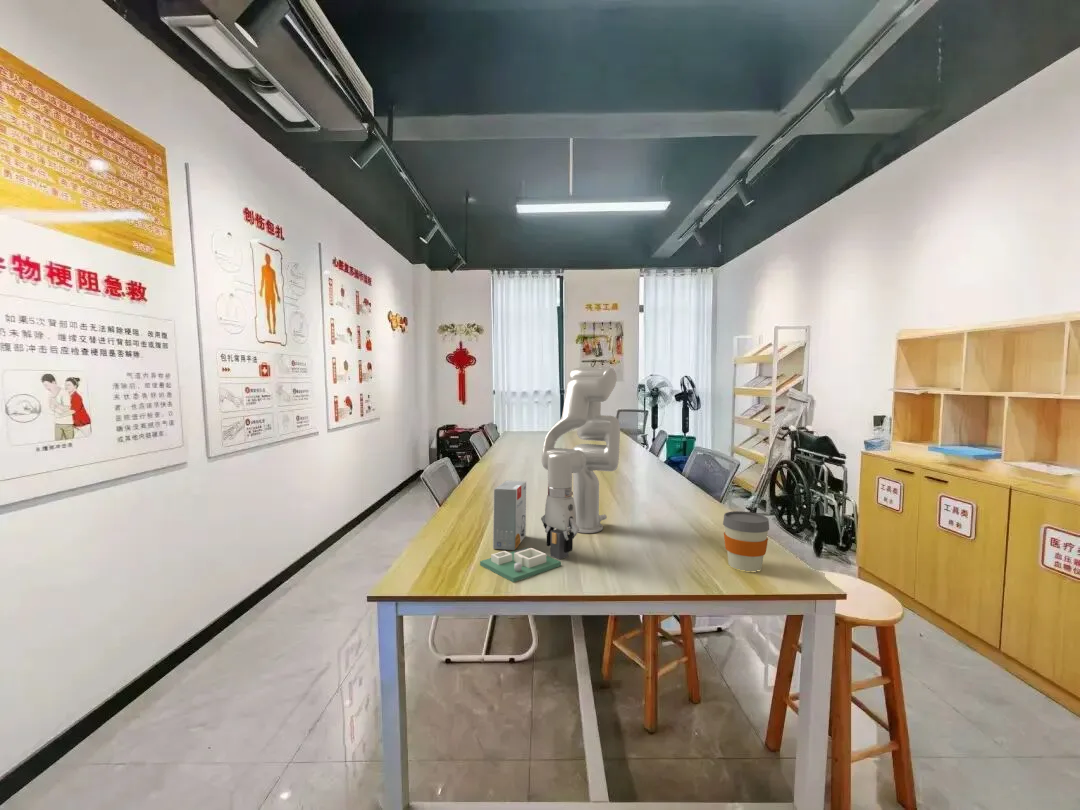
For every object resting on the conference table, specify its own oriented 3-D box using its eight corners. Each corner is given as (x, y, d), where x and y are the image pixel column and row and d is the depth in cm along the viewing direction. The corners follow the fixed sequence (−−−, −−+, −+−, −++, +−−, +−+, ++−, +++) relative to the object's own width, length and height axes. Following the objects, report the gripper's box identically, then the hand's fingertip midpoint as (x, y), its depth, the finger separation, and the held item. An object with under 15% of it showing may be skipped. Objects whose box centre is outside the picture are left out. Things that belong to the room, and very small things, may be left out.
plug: (559, 552, 150) (559, 528, 150) (568, 556, 147) (568, 531, 147) (549, 556, 147) (549, 531, 147) (557, 559, 144) (558, 534, 144)
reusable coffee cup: (724, 572, 135) (725, 521, 135) (720, 556, 147) (721, 509, 147) (772, 577, 132) (773, 524, 131) (763, 561, 144) (765, 512, 143)
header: (531, 555, 144) (531, 547, 144) (546, 562, 139) (546, 553, 139) (512, 561, 140) (512, 553, 139) (527, 568, 134) (527, 560, 134)
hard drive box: (515, 551, 152) (515, 490, 151) (492, 549, 153) (492, 489, 152) (526, 536, 167) (526, 480, 166) (505, 534, 168) (505, 479, 167)
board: (526, 551, 152) (526, 541, 152) (561, 565, 140) (561, 555, 140) (480, 565, 140) (480, 554, 140) (513, 582, 128) (513, 570, 128)
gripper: (588, 495, 143) (588, 553, 143) (549, 485, 156) (549, 538, 156) (571, 499, 138) (570, 559, 138) (532, 489, 151) (532, 543, 152)
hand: (559, 547), depth 147 cm, fingers open, 7 cm apart
